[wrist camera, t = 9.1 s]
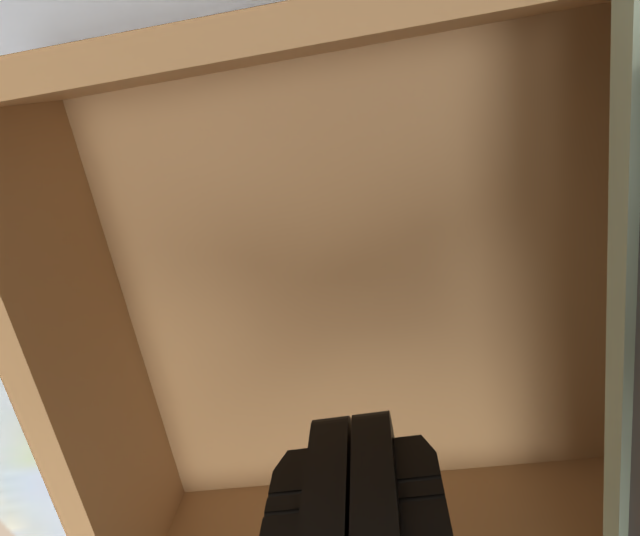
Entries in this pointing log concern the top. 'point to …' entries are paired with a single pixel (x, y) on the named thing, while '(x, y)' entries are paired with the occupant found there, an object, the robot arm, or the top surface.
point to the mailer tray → (310, 256)
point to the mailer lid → (623, 279)
